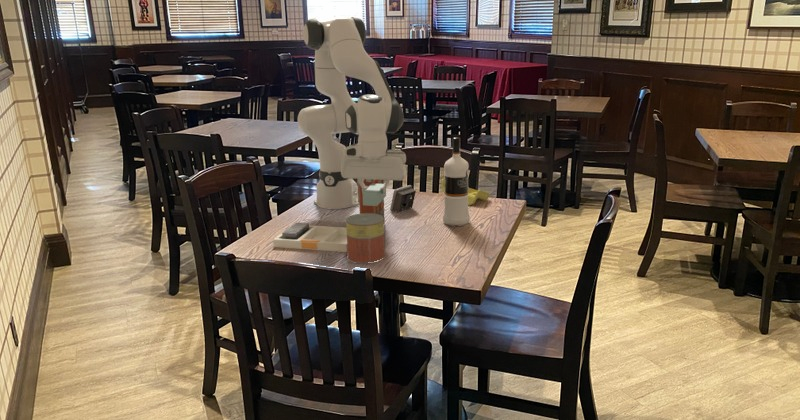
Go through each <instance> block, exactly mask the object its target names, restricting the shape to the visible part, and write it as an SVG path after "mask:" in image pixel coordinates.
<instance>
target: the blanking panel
mask: <svg viewBox="0 0 800 420" xmlns="http://www.w3.org/2000/svg"><path fill="white" fill-rule="evenodd" d="M384 185H385V183H384V184H374V183H372V184H371V185H370V186H369V187H368V188H367V189H366V190H365V191H364V192H363V193H362V194H363V205H367V206H378V204H379V203H380V202H381V201H382V200H383V199H385V198H386V197H387V192H386V193H385V194H382V193H381V191H380V188H381V187H384Z"/></svg>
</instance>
